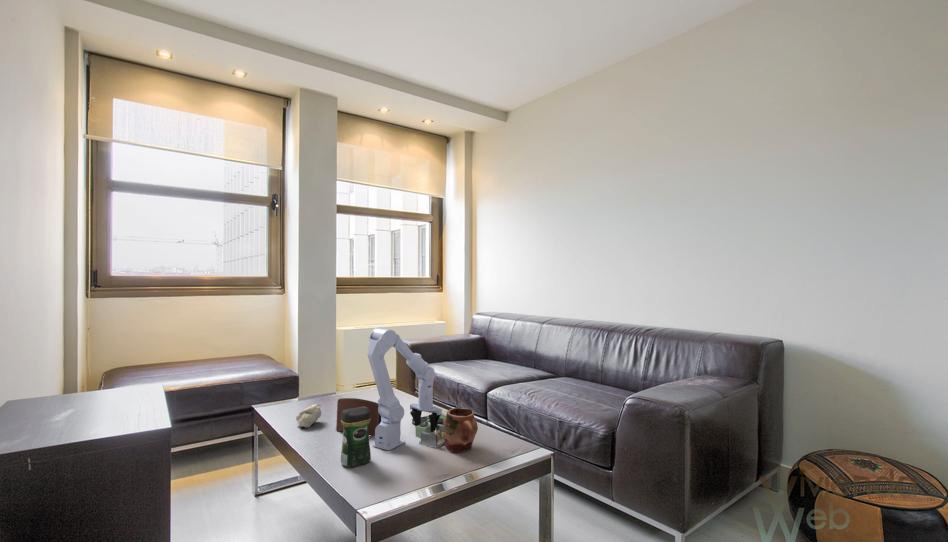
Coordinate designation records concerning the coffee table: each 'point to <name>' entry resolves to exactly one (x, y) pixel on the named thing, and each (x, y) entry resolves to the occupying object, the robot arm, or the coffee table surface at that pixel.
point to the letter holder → (354, 403)
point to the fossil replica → (309, 416)
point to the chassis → (433, 437)
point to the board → (423, 428)
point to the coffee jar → (355, 437)
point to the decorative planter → (459, 429)
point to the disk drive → (429, 420)
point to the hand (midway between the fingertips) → (425, 429)
